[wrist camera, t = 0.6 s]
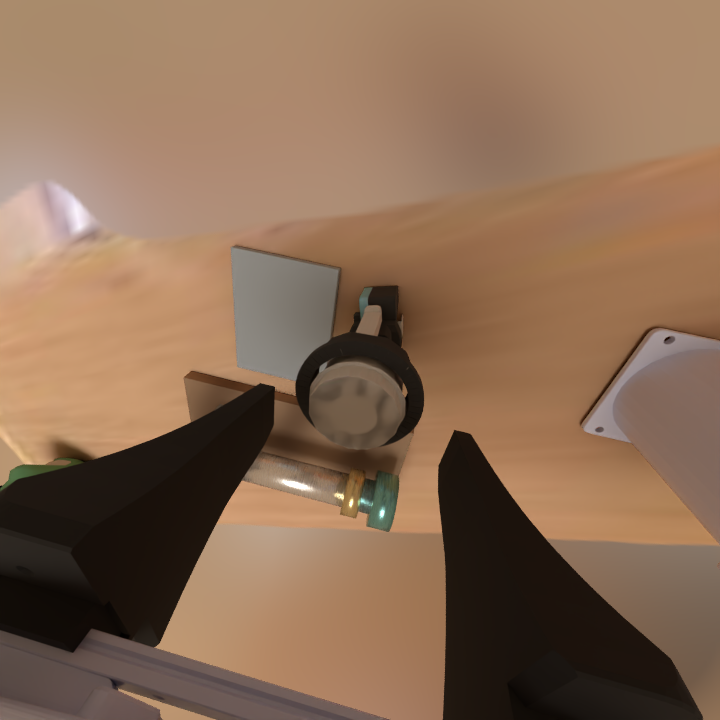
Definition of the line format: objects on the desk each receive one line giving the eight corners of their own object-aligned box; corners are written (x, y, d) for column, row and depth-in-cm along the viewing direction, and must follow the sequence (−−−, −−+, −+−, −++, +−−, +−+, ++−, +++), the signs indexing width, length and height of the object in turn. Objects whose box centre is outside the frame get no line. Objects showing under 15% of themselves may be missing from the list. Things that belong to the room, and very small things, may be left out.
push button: (421, 371, 21) (423, 491, 13) (348, 370, 22) (305, 481, 14) (421, 278, 18) (425, 353, 10) (337, 282, 19) (272, 353, 11)
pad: (340, 267, 19) (338, 270, 18) (326, 383, 23) (323, 387, 23) (235, 245, 19) (230, 247, 19) (241, 363, 24) (237, 366, 23)
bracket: (413, 425, 24) (412, 490, 18) (389, 494, 28) (383, 563, 23) (191, 371, 25) (131, 418, 20) (202, 446, 30) (156, 500, 24)
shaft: (400, 464, 23) (397, 511, 20) (389, 495, 25) (384, 542, 22) (225, 420, 24) (193, 457, 21) (228, 453, 26) (199, 492, 23)
